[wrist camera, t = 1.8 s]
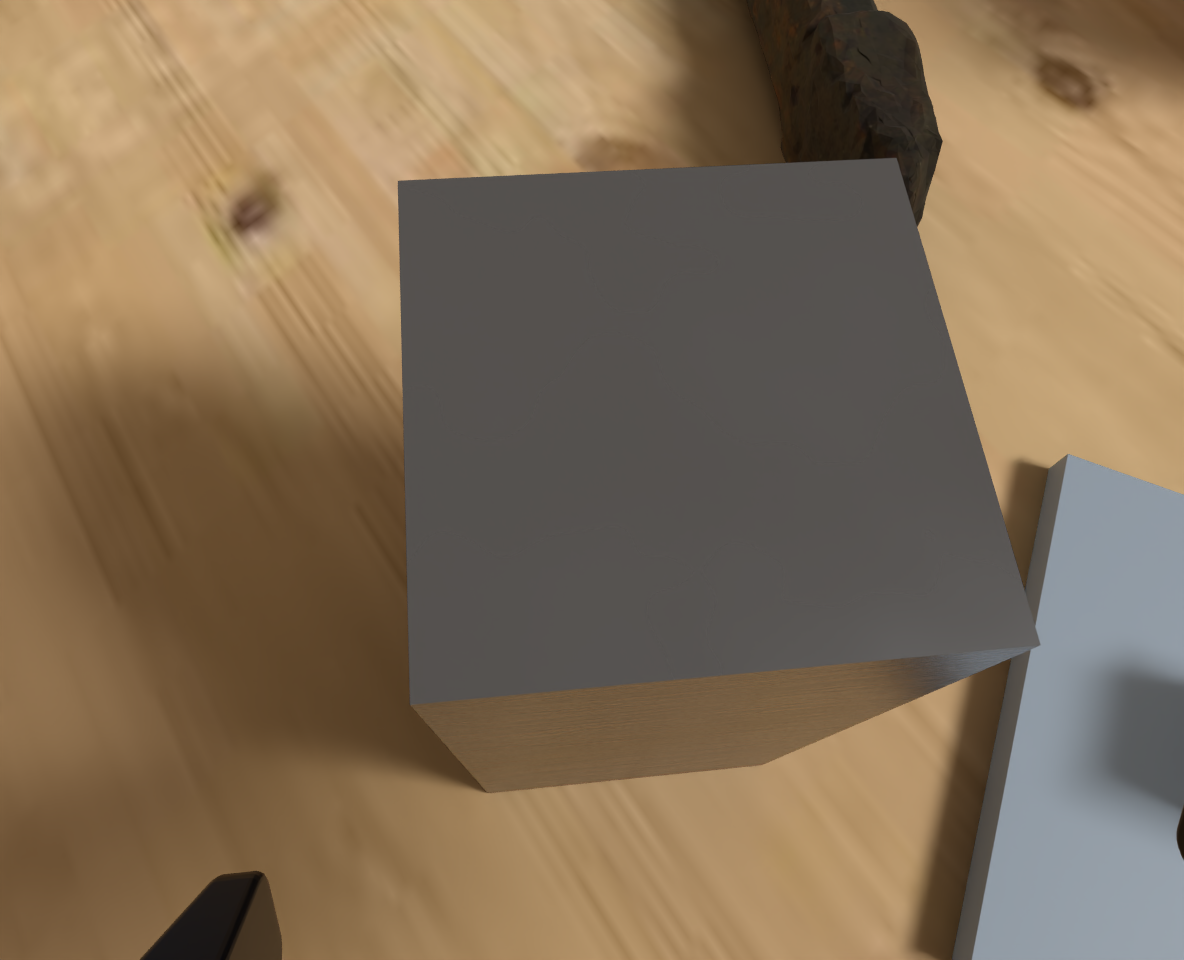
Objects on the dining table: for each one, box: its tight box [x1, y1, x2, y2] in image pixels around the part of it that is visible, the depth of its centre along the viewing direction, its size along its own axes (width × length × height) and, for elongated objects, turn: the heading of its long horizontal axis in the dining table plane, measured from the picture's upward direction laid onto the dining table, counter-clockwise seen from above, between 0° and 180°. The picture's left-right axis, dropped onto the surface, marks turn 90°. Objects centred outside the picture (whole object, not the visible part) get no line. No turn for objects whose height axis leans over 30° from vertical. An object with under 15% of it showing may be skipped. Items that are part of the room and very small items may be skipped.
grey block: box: [398, 158, 1041, 793], centre depth 15 cm, size 6×6×12 cm
